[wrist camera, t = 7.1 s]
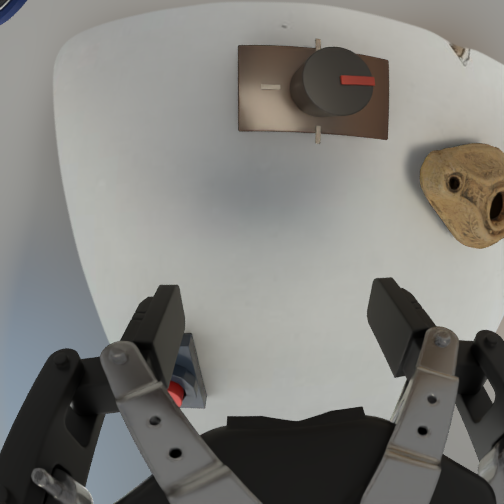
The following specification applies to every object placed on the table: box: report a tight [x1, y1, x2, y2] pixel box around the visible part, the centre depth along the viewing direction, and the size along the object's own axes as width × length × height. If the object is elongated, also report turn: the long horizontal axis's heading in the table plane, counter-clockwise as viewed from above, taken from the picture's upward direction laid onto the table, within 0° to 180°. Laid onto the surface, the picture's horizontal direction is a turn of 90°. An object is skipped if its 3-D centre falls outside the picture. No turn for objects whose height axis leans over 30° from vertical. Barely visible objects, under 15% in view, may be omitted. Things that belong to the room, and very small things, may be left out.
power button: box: [167, 381, 184, 407], centre depth 31 cm, size 4×4×2 cm
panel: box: [238, 39, 389, 144], centre depth 21 cm, size 12×9×3 cm
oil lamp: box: [420, 143, 504, 249], centre depth 22 cm, size 11×15×8 cm
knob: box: [290, 47, 375, 117], centre depth 17 cm, size 4×4×6 cm
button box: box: [171, 334, 207, 409], centre depth 33 cm, size 12×7×4 cm, turn 3°
